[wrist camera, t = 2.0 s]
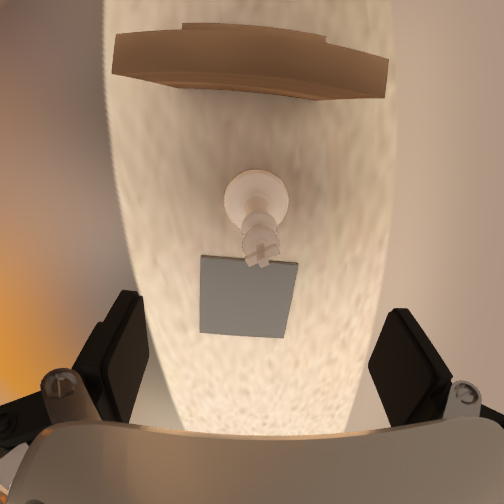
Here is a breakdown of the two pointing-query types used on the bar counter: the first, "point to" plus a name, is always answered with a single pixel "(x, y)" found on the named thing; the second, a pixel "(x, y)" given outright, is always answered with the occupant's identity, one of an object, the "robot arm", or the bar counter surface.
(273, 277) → the pad
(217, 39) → the brown piece
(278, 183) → the chess piece
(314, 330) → the bar counter surface
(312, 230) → the bar counter surface
